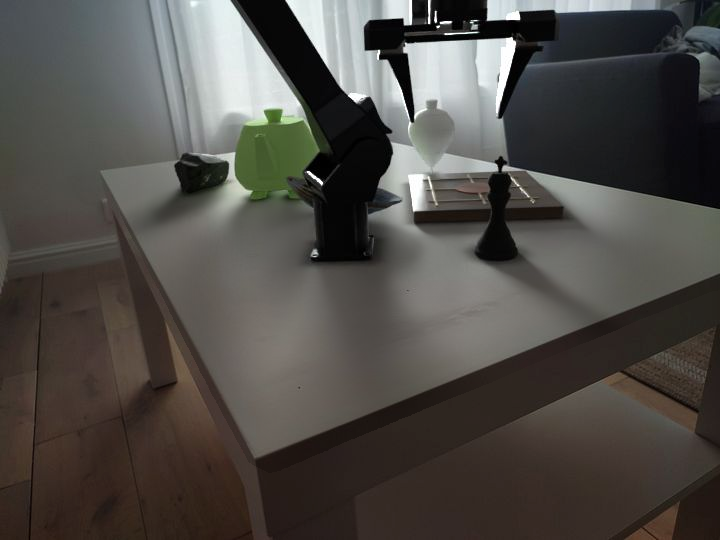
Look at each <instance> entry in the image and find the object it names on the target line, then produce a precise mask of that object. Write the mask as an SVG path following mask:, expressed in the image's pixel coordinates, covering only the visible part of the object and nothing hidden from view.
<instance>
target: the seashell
mask: <svg viewBox="0 0 720 540" xmlns="http://www.w3.org/2000/svg"><path fill="white" fill-rule="evenodd" d="M286 181H287V183H288V184H289V186H290V187H291V188H292V190H293V191H294V192H295V193H296V194H297V195H298V196H299V197H300V198H299V199H301V201H302V202H304V203H305V204H306V205H307V206H308V207H310V208H311V209H313V198H312V197H313V195H314V194H315V192H314V191H313V190H311V189H310V188H309V187H308V185H307V183H306V181H305V178H297V177H292V176H288V177H286ZM403 200H404V199H403V197H402V196H399V195H397V194H396V193H394V192H391V191H389V190H386V189H384V188H381V187H378V188H377V191H376V195H375V198H374V201H372V202H367V206H368V215H371V214H373V213H376V212H377V213H378V212H381V211H383V210H386V209H388V208H390V207H392V206H395V205H398V204H400V203H402V202H403Z"/></svg>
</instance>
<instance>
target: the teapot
mask: <svg viewBox="0 0 720 540" xmlns="http://www.w3.org/2000/svg"><path fill="white" fill-rule="evenodd" d="M283 113H284V109H283V108H281V107H272V108H271V107H270V108H265V109H264V110H263V114H264V115H265V118H264V117H263V118H258V119H253V120H249V121H247V122H245V123H244V124H243V125H242V127H241V131H240V134H239V137H238V140H237V144H236V147H235V151H234V152H235V153H234V162H233V163H234V164H233V165H234V166H233V167H234V168H233V169H234V176H235V179H236V181H237V182H238V183H239V184H240V185H241V186H242V188H244V189H245V190H246V191H252V192H251V194H250V195H249V199H250V200H261V199H266V197H267V196H268V195H267V194H268V192H281V191H284V192H285V191H287V194H288V198H290V199H301V198H300V197H299V196H298V195H297V194H296V193H295V192H294V191H293V190H292V188H291V187H290V186H289V184H288V183H287V181H286V177H288V176H292V177H297V178H304V176H303V174H302V172H303V170H304V169H305V168H306V166H307V165H308V164H309V163H310V161H311V160H312V159H313V158H314V157H315V155H316V154H317V153H318V152H319V148H318V146H317V144H316V142H315V140H314V137H313V135H312V133H311V130H310V127H309V124H308V122H307V120H306V119H305V118H304V117H301V116H295V115H294V114H293V115H283Z"/></svg>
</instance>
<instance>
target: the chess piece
mask: <svg viewBox="0 0 720 540" xmlns="http://www.w3.org/2000/svg"><path fill="white" fill-rule="evenodd" d="M494 164H495V165H496V166H497V170H495V171H491V172H492V174H491V175H490V176H489V178H488V185H489V188H490V190H489V192H488V193H487V198H488V200H489V203H490V206H491V216H490V220H488V223H487V225H486V226H485V228H484V230H483V232H482V234H481V236H480V237H479V238H478V240H477V241H476V245H475V246H474V249H473V253H474V254H475V256H477V257H478V258H480V259H484V260H489V261H507V260H512V259H514V258H516V257H517V256H518V255H519V249H518V247H517V244H516V241H515V239H514V237H513V236H512V234H511V231H510V228H509V226H508V224H507V220H505V208H506V205H507V203H508V201H509V199H510V197H511V193H510V192H509V187H510V185H511V183H512V179H511V177H510V175H509V174H508V172H505V171H506V170H503V168H504V166H506V165H508V164H509V163H508V161H507V160H505V159H504V157H503V155H499V156H498V158H497V159H494Z"/></svg>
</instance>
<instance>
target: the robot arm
mask: <svg viewBox="0 0 720 540" xmlns="http://www.w3.org/2000/svg"><path fill="white" fill-rule="evenodd" d="M229 1H230V2H231V4H232V5H233V7H234V8H235V10H236V11H237V13H238V14H239V16H240V17H241V18H242V21H243V22H244V23H245V24H246V26H247V28H248V29H249V30H250V32H251V33H252V35H253V36H254V38H255V39H256V41H257V42H258V44H259V45H260V46H261V48H262V49H263V51H264V52H265V54H266V56H267V57H268V58H269V60H270V61H271V63H272V64H273V66H274V68H275V69H276V70H277V71H278V74H279V75H280V76H281V77H282V79H283V80H284V82H285V83H286V85H287V87H288V88H289V89H290V90H291V92H292V93H293V95H294V96H295V98H296V100H297V101H298V103H299V104H300V106H301V107H302V110H303V113H304V114H305V117H306V122H307V124H308V126H309V128H310V130H311V133H312V135H313V137H314V140H315V142H316V144H317V146H318V148H319V152H318V153H317V154H316V155H315V157H314V158H313V159H312V160H311V161H310V163H309V164H308V165H307V166H306V168H305V169H304V170H303V172H302V174H303V176H304V178H305V181H306V183H307V185H308V187H309V188H310V189H311V190H313V191H314V192H315V194H314V195H313V197H312V198H313V208H312V209H313V219H314V230H315V241H314V244H313V247H312V249H311V251H310V254H309V260H310V261H315V262H316V261H350V260H351V261H353V260H371V259H372V258H373V255H374V254H373V253H374V245H375V244H374V243H375V242H374V241H375V235H373V234H370V232H369V231H370V229H369V214H368V206H367V202H372V201H374V198H375V195H376V191H377V188H379V185H380V181H381V178H383V176H384V175H385V174H386V173H387V171H388V169H390V166H391V163H392V158H393V155H394V148H393V145H392V142H391V139H390V137H389V136H388V135H392V134H393V129H391V127H388V126H387V125H386V124H385V123H384V121H383V120H382V118H381V117H380V113H379V112H378V109H377V107H376V104H375V102H374V100H373V99H372V97H371V96H368V95H364V94H363V95H362V94H358V93H352V92H351V93H349V94H347V93H346V91H344V89H342V87H341V86H340V85H339V83H338V82H337V80H336V78H335V77H334V76H333V74H332V72H331V70H330V69H329V67H328V65H327V64H326V62H325V60H324V59H323V58H322V56H321V55H320V53H319V51H318V49H317V48H316V47H315V46H316V45H314V43H313V41H312V40H311V38H310V37H309V35H308V33H307V31H306V30H305V29H304V27H303V26H302V24H301V22H300V21H299V20H298V19H299V18H298V17H297V16H296V14H295V13H294V11H293V10H292V8H291V7H290V6H291V5H289V3H288V1H287V0H229ZM488 2H489V1H488V0H409V22H410V23H409V24H405V20H404V19H405V18H404V17H399V18H379V19H378V18H377V19H369V20H367V22H366V23H365V24H364V25H363V43H364V44H363V45H364V47H363V48H364V49H363V50H364V52H374V51H378V53H377V60H378V61H387V62H388V64H389V66H390V68H391V71H392V73H393V75H394V77H395V80H396V82H397V85H398V87H399V91H400V94H401V97H402V100H403V104H404V107H405V110H406V113H407V116H408V119H409V123H410V122H411V123H414V116H415V115H416V111H415V110H416V109H415V102H414V101H415V100H414V93H413V85H412V76H411V68H410V60H409V53H408V52H405V51H404V48H406V45H409V44H412V45H413V44H429V43H445V42H447V43H448V42H465V41H467V42H468V41H482V40H485V41H486V40H500V39H501V40H503V39H506V43H507V44H506V46H504V47H503V46H501V48H500V49H501V67H500V74H499V82H498V88H497V94H496V95H497V96H496V103H495V105H496V109H495V116H496V120H497V119H498V120H502V119H503V117H504V114H505V112H506V110H507V108H508V105H509V104H510V100H511V99H512V96H513V94H514V91H515V89H516V87H517V84H519V83H518V82H519V80H520V78H521V76H522V75H523V73H524V71H525V70H526V68H527V66H528V64H529V62H530V61H531V60H532V57H533V55H534V54H536V53H539V52H542V53H543V52H544V50H545V45H540V43H541V42H557V41H559V38H560V37H559V36H560V27H561V20H560V17H559V14H558V13H557V12H556V10H555V9H539V10H522V11H521V10H520V11H516V12H512V13H508V14H507V16H506V19H494V20H488V13H489V12H488V9H489V8H488ZM473 26H477V28H476V29H475V28H474V29H473V28H472V27H473Z"/></svg>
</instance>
